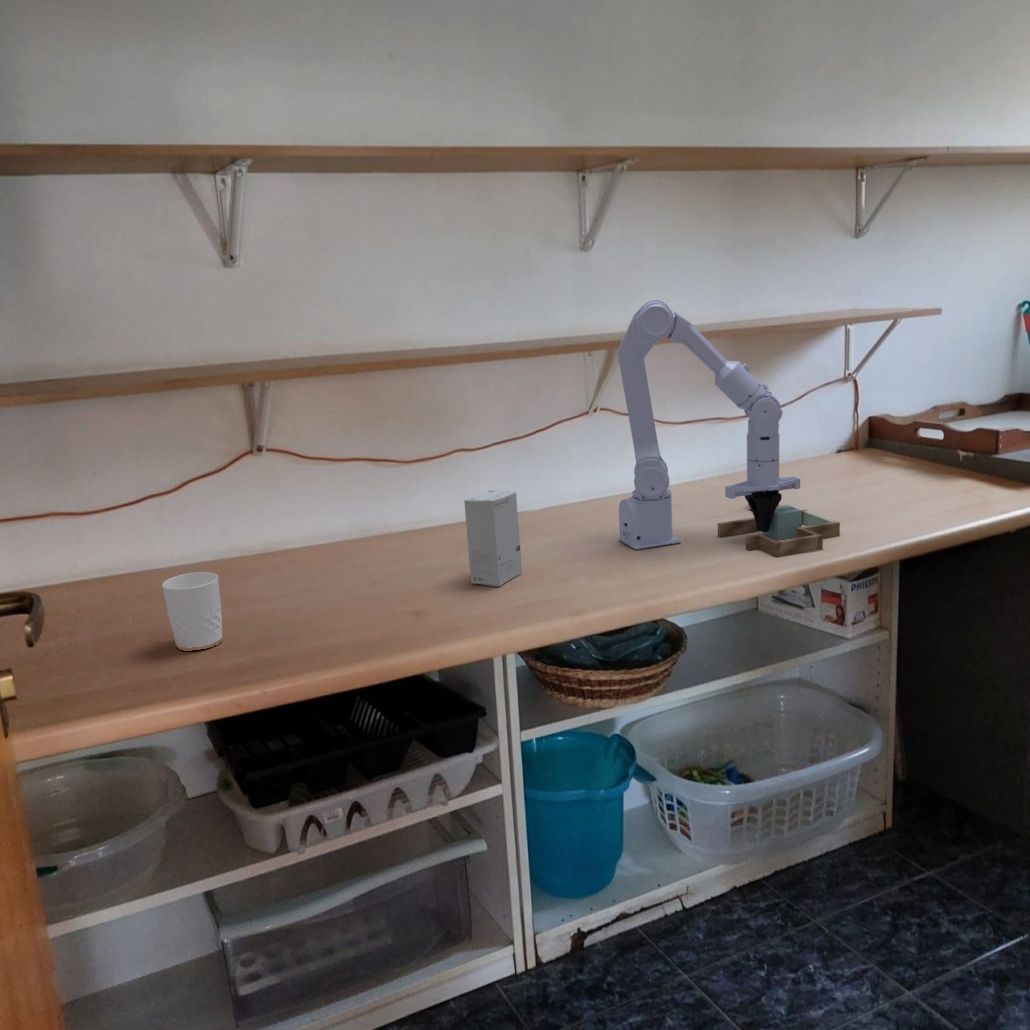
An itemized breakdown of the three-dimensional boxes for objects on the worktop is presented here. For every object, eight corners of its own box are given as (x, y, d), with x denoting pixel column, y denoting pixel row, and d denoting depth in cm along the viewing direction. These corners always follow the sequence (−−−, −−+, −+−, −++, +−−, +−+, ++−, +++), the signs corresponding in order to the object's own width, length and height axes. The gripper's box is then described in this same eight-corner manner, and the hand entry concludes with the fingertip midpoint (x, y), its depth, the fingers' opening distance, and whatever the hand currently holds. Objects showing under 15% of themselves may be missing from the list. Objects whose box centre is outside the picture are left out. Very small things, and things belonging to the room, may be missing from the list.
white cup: (232, 632, 149) (223, 570, 147) (219, 651, 142) (209, 586, 139) (181, 635, 149) (171, 573, 146) (165, 655, 141) (154, 590, 139)
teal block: (777, 540, 178) (777, 514, 177) (763, 533, 183) (763, 508, 181) (801, 536, 179) (801, 510, 178) (786, 530, 184) (786, 504, 183)
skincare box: (499, 588, 162) (493, 501, 158) (468, 584, 165) (462, 499, 161) (523, 573, 169) (518, 489, 165) (493, 569, 172) (488, 487, 168)
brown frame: (765, 558, 168) (765, 544, 167) (717, 535, 183) (717, 523, 183) (858, 543, 173) (859, 529, 173) (804, 522, 189) (804, 509, 188)
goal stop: (831, 535, 179) (831, 522, 178) (803, 524, 187) (803, 511, 187) (836, 534, 179) (836, 521, 179) (807, 523, 188) (807, 510, 187)
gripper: (739, 467, 170) (739, 541, 174) (810, 457, 174) (809, 530, 178) (719, 460, 177) (719, 532, 180) (788, 451, 181) (787, 521, 184)
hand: (762, 530), depth 179 cm, fingers closed
